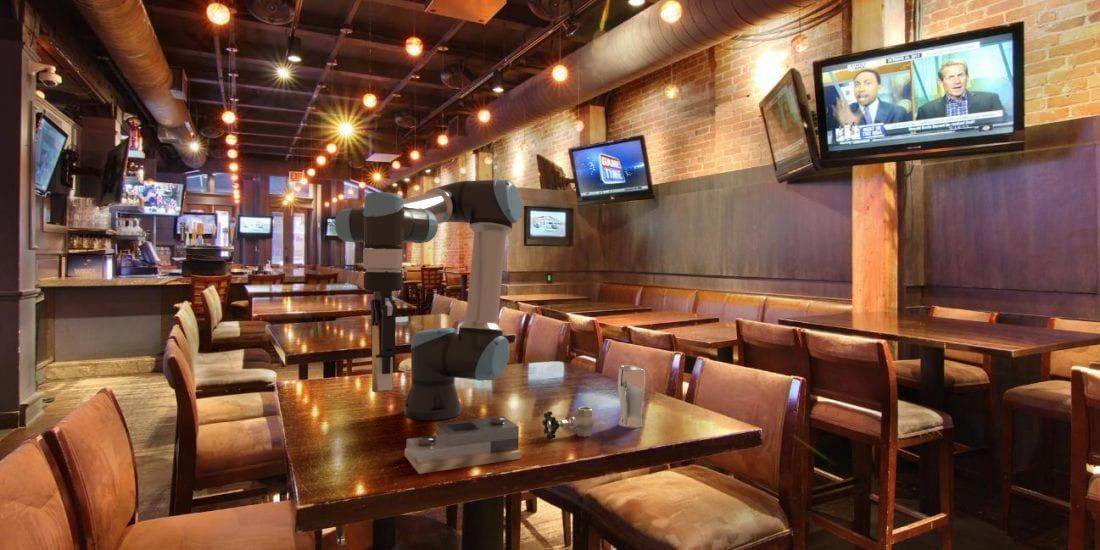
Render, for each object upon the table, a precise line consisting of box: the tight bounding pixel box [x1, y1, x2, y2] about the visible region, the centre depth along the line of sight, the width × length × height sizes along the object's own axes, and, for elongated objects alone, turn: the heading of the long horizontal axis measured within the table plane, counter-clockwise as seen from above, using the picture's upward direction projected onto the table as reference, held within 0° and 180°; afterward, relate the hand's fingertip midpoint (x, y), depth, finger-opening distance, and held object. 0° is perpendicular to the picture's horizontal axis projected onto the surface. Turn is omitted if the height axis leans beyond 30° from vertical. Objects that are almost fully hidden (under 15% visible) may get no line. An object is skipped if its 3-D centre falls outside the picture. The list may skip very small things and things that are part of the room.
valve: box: [541, 406, 594, 440], centre depth 143 cm, size 7×7×12 cm
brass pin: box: [371, 325, 394, 394], centre depth 119 cm, size 4×4×13 cm
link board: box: [404, 448, 522, 475], centre depth 127 cm, size 22×12×2 cm, turn 117°
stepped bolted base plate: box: [405, 415, 520, 464], centre depth 127 cm, size 22×9×6 cm, turn 117°
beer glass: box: [617, 364, 646, 429], centre depth 154 cm, size 7×7×15 cm
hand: (382, 387), depth 119 cm, fingers closed on brass pin, 4 cm apart
